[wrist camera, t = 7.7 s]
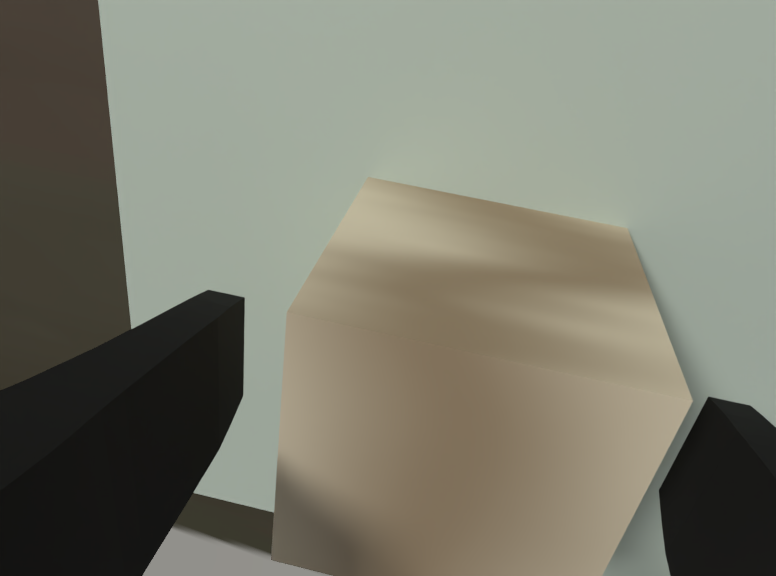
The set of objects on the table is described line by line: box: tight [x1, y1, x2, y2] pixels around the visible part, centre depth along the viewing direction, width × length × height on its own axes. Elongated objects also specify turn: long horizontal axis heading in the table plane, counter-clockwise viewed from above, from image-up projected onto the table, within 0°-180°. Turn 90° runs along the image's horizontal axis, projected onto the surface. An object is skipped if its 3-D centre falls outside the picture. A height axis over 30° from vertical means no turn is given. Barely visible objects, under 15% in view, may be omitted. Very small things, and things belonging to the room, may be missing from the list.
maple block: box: [271, 177, 693, 576], centre depth 10 cm, size 4×4×4 cm
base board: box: [98, 0, 776, 576], centre depth 13 cm, size 14×14×2 cm
